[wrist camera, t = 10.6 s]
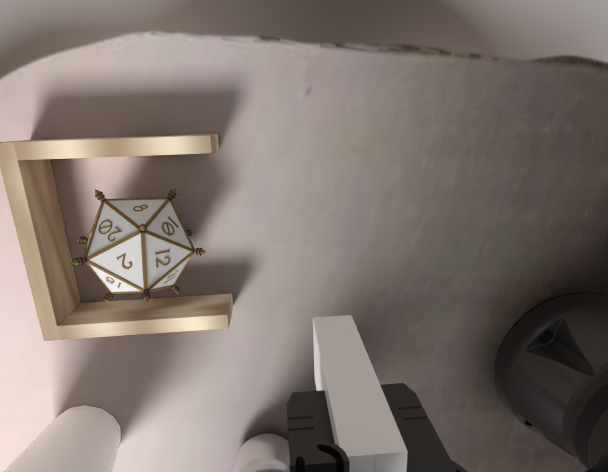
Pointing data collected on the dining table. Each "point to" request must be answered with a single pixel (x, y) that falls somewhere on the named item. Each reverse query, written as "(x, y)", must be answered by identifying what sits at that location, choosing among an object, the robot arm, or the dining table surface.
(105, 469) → the foam cup
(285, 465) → the plastic bottle
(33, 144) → the corral
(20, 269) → the dining table surface
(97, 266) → the game die
